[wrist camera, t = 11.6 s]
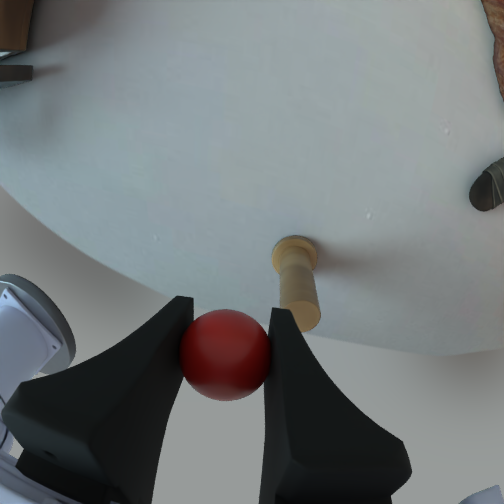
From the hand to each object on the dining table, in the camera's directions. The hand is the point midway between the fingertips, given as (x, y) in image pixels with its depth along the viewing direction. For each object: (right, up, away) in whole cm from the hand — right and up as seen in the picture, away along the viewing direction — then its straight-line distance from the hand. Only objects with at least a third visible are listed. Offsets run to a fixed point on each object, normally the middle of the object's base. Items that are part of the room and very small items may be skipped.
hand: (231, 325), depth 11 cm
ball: (0, 0, 0) cm, 0 cm away
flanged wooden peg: (+4, +2, +10) cm, 11 cm away
